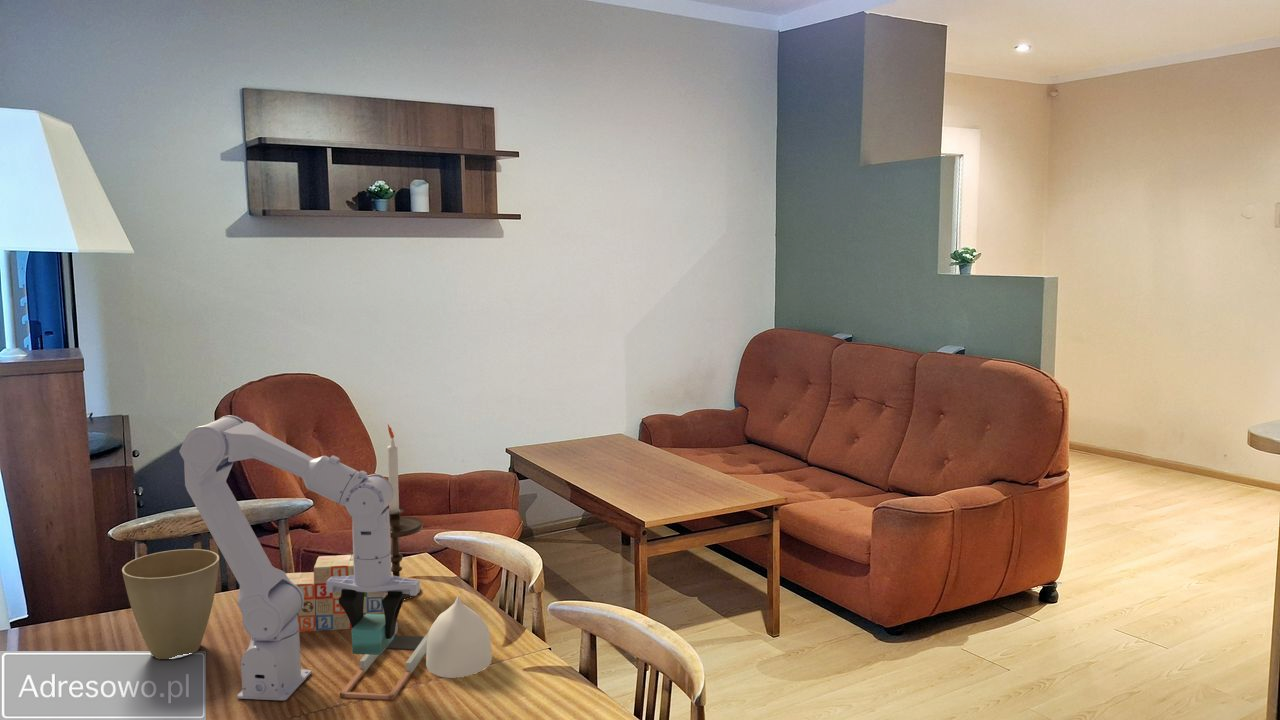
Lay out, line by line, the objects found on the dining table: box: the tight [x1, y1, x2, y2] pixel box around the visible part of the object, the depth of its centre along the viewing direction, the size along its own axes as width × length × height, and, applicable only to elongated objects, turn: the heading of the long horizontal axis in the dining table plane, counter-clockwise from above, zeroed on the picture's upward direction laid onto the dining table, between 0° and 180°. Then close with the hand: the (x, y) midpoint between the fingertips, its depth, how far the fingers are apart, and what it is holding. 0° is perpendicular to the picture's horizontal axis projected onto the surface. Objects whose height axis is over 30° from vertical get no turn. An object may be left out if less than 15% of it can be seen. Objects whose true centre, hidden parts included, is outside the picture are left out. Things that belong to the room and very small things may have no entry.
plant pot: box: [121, 548, 220, 660], centre depth 157 cm, size 15×15×16 cm
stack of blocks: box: [285, 554, 387, 633], centre depth 169 cm, size 21×6×12 cm, turn 100°
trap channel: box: [339, 621, 430, 701], centre depth 154 cm, size 24×9×2 cm, turn 176°
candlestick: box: [387, 423, 423, 600], centre depth 182 cm, size 11×11×35 cm
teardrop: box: [425, 595, 493, 679], centre depth 153 cm, size 11×11×12 cm
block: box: [351, 614, 394, 656], centre depth 144 cm, size 6×4×4 cm
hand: (374, 635), depth 145 cm, fingers closed on block, 4 cm apart
